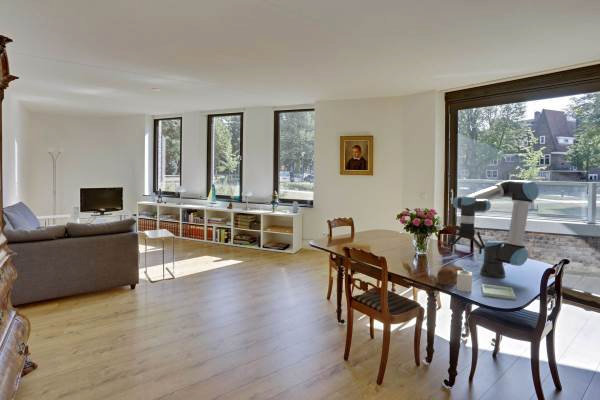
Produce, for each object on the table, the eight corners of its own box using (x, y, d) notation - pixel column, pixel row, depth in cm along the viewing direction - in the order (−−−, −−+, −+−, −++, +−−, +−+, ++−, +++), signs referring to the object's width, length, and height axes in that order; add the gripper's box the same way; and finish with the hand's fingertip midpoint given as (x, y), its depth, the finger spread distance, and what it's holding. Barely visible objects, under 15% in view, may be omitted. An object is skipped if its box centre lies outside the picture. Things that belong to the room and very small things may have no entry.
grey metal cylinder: (460, 287, 230) (461, 269, 228) (467, 288, 228) (468, 270, 227) (460, 289, 226) (461, 270, 225) (467, 290, 225) (468, 271, 224)
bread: (453, 287, 231) (453, 271, 230) (435, 283, 238) (436, 268, 237) (463, 280, 245) (464, 265, 244) (447, 276, 252) (447, 262, 251)
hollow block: (456, 286, 232) (457, 270, 231) (471, 288, 229) (471, 271, 228) (456, 290, 225) (457, 273, 224) (471, 292, 222) (472, 275, 221)
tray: (481, 287, 231) (481, 284, 230) (511, 290, 224) (511, 287, 224) (483, 295, 216) (483, 292, 216) (515, 299, 210) (515, 296, 210)
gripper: (444, 222, 224) (442, 257, 227) (491, 225, 215) (489, 261, 217) (444, 220, 231) (443, 254, 233) (490, 223, 222) (488, 258, 224)
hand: (465, 257), depth 225 cm, fingers open, 13 cm apart
